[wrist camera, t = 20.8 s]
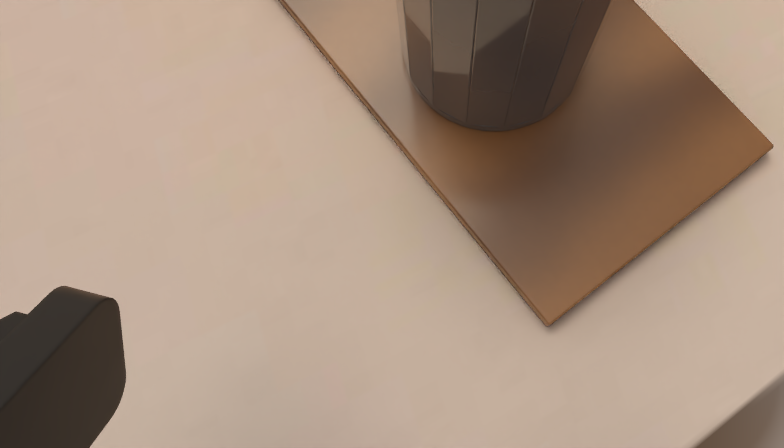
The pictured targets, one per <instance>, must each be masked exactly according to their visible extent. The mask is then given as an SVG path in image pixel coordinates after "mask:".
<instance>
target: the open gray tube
mask: <svg viewBox="0 0 784 448" xmlns="http://www.w3.org/2000/svg"><path fill="white" fill-rule="evenodd" d="M615 1H616V0H396V5H397V14H398V23H399V31H400V40H401V49H402V52H403V55H404V61H405V65H406V70H407V72H408V75H409V78H410V80H411V82H412V84H413V86H414V88H415V90H416V91H417V92H418V94H419V95H420V97H421V98H422V99H423V100H424V101H425V102H426V103H427V104H428V105H429V106H430V107H431V108H432V109H433V110H434V111H436V112H437V113H438V114H439V115H441V116H443V117H444V118H446V119H448V120H449V121H451V122H454V123H456V124H458V125H460V126H464V127H467V128H470V129H475V130H481V131H495V132H497V131H509V130H514V129H519V128H522V127H525V126H528V125H531V124H534V123H536V122H538V121H540V120H542V119H544V118H545V117H547V116H548V115H550V114H551V113H553V112H554V111H555V110H556V109H557V108H558V107H560V106H561V105H562V104H563V103H564V102H565V100H566V99H567V98H568V97H569V96H570V94H571V93H572V91H573V90H574V88H575V87H576V85H577V83H578V81H579V79H580V77H581V75H582V73H583V71H584V70H585V68H586V66H587V64H588V62H589V59H590V57H591V55H592V53H593V50H594V48H595V46H596V44H597V41H598V39H599V37H600V35H601V32H602V30H603V28H604V26H605V23H606V21H607V19H608V17H609V14H610V12H611V10H612V8H613V5H614V3H615Z"/></svg>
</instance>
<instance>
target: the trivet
mask: <svg viewBox="0 0 784 448" xmlns="http://www.w3.org/2000/svg"><path fill="white" fill-rule="evenodd" d="M279 1H280V2H281V3H282V5H283V6H284V7H285V8H286V9H287V11H288V12H289V13H290V14H291V16H292V17H293V18H294V19H295V20H296V22H297V23H298V24H299V25H300V27H301V28H302V29H303V30H304V31H305V33H306V34H307V35H308V36H309V38H310V39H311V40H312V41H313V42H314V44H315V45H316V46H317V47H318V48H319V50H320V51H321V52H322V53H323V55H324V56H325V57H326V58H327V59H328V61H329V62H330V63H331V64H332V66H333V67H334V68H335V69H336V70H337V72H338V73H339V74H340V75H341V77H342V78H343V79H344V80H345V81H346V83H347V84H348V85H349V86H350V88H351V89H352V90H353V91H354V92H355V94H356V95H357V96H358V97H359V99H360V100H361V101H362V102H363V103H364V105H365V106H366V107H367V108H368V109H369V111H370V112H371V113H372V114H373V116H374V117H375V118H376V119H377V120H378V122H379V123H380V124H381V125H382V127H383V128H384V129H385V130H386V131H387V133H388V134H389V135H390V136H391V138H392V139H393V140H394V141H395V142H396V144H397V145H398V146H399V147H400V149H401V150H402V151H403V152H404V153H405V155H406V156H407V157H408V158H409V160H410V161H411V162H412V163H413V164H414V166H415V167H416V168H417V169H418V170H419V172H420V173H421V174H422V175H423V177H424V178H425V179H426V180H427V181H428V183H429V184H430V185H431V186H432V188H433V189H434V190H435V191H436V192H437V194H438V195H439V196H440V197H441V199H442V200H443V201H444V202H445V203H446V205H447V206H448V207H449V208H450V210H451V211H452V212H453V213H454V214H455V216H456V217H457V218H458V219H459V221H460V222H461V223H462V224H463V225H464V227H465V228H466V229H467V230H468V231H469V233H470V234H471V235H472V236H473V238H474V239H475V240H476V241H477V242H478V244H479V245H480V246H481V247H482V249H483V250H484V251H485V252H486V253H487V255H488V256H489V257H490V258H491V260H492V261H493V262H494V263H495V264H496V266H497V267H498V268H499V269H500V271H501V272H502V273H503V274H504V275H505V277H506V278H507V279H508V280H509V282H510V283H511V284H512V285H513V286H514V288H515V289H516V290H517V291H518V292H519V294H520V295H521V296H522V297H523V299H524V300H525V301H526V302H527V303H528V305H529V306H530V307H531V308H532V310H533V311H534V312H535V313H536V314H537V316H538V317H539V318H540V319H541V321H542V322H543V323H544V324H545V325H546V326H549V325H551V324H552V323H553V322H555V321H556V320H557V319H558V318H560V317H561V316H562V315H563V314H565V313H566V312H567V311H568V310H570V309H571V308H572V307H573V306H575V305H576V304H577V303H578V302H580V301H581V300H582V299H584V298H585V297H586V296H587V295H589V294H590V293H591V292H592V291H594V290H595V289H596V288H597V287H599V286H600V285H601V284H602V283H604V282H605V281H606V280H607V279H609V278H610V277H611V276H612V275H614V274H615V273H616V272H617V271H619V270H620V269H621V268H622V267H624V266H625V265H626V264H627V263H629V262H630V261H631V260H633V259H634V258H635V257H636V256H638V255H639V254H640V253H641V252H643V251H644V250H645V249H646V248H648V247H649V246H650V245H651V244H653V243H654V242H655V241H656V240H658V239H659V238H660V237H661V236H663V235H664V234H665V233H666V232H668V231H669V230H670V229H671V228H673V227H674V226H675V225H677V224H678V223H679V222H680V221H682V220H683V219H684V218H685V217H687V216H688V215H689V214H690V213H692V212H693V211H694V210H695V209H697V208H698V207H699V206H700V205H702V204H703V203H704V202H705V201H707V200H708V199H709V198H710V197H712V196H713V195H714V194H715V193H717V192H718V191H719V190H721V189H722V188H723V187H724V186H726V185H727V184H728V183H729V182H731V181H732V180H733V179H734V178H736V177H737V176H738V175H739V174H741V173H742V172H743V171H744V170H746V169H747V168H748V167H749V166H751V165H752V164H753V163H754V162H756V161H757V160H758V159H759V158H761V157H762V156H763V155H765V154H766V153H767V152H768V151H770V150H771V149H772V148H773V144H772V143H771V142H770V141H769V140H768V139H767V138H766V137H765V136H764V135H763V134H762V133H761V132H760V131H759V130H758V129H757V128H756V127H755V126H754V125H753V123H752V122H751V121H750V120H749V119H748V118H747V117H746V116H745V115H744V114H743V113H742V112H741V111H740V110H739V109H738V108H737V107H736V106H735V105H734V104H733V103H732V102H731V101H730V100H729V99H728V98H727V97H726V96H725V95H724V94H723V92H722V91H721V90H720V89H719V88H718V87H717V86H716V85H715V84H714V83H713V82H712V81H711V80H710V79H709V78H708V77H707V76H706V75H705V74H704V73H703V72H702V71H701V70H700V69H699V68H698V67H697V66H696V65H695V64H694V63H693V61H692V60H691V59H690V58H689V57H688V56H687V55H686V54H685V53H684V52H683V51H682V50H681V49H680V48H679V47H678V46H677V45H676V44H675V43H674V42H673V41H672V40H671V39H670V38H669V37H668V36H667V35H666V34H665V33H664V32H663V30H662V29H661V28H660V27H659V26H658V25H657V24H656V23H655V22H654V21H653V20H652V19H651V18H650V17H649V16H648V15H647V14H646V13H645V12H644V11H643V10H642V9H641V8H640V7H639V6H638V5H637V4H636V3H635V2H634V0H616V1H615V3H614V5H613V8H612V10H611V12H610V14H609V17H608V19H607V21H606V23H605V26H604V28H603V30H602V32H601V35H600V37H599V39H598V41H597V44H596V46H595V48H594V50H593V53H592V55H591V57H590V59H589V62H588V64H587V66H586V68H585V70H584V71H583V73H582V75H581V77H580V79H579V81H578V83H577V85H576V87H575V88H574V90H573V91H572V93H571V94H570V96H569V97H568V98H567V99H566V100H565V102H564V103H563V104H562V105H561V106H560V107H558V108H557V109H556V110H555V111H554V112H553V113H551V114H550V115H548V116H547V117H545V118H544V119H542V120H540V121H538V122H536V123H534V124H531V125H528V126H525V127H522V128H519V129H514V130H509V131H497V132H495V131H481V130H475V129H470V128H467V127H464V126H460V125H458V124H456V123H454V122H451V121H449V120H448V119H446V118H444V117H443V116H441V115H439V114H438V113H437V112H436V111H434V110H433V109H432V108H431V107H430V106H429V105H428V104H427V103H426V102H425V101H424V100H423V99H422V98H421V97H420V95H419V94H418V92H417V91H416V90H415V88H414V86H413V84H412V82H411V80H410V78H409V75H408V72H407V70H406V65H405V61H404V55H403V52H402V49H401V40H400V31H399V23H398V14H397V5H396V0H279Z"/></svg>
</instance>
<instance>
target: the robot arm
mask: <svg viewBox="0 0 784 448" xmlns="http://www.w3.org/2000/svg"><path fill="white" fill-rule="evenodd" d="M125 382H126V369H125V359H124V350H123V340H122V330H121V320H120V311H119V306H118V303H117V302H116V300H115V299H113V298H109V297H106V296H102V295H98V294H94V293H90V292H86V291H83V290H79V289H75V288H71V287H67V286H61V287H58V288H56V289H54V290H53V291H52V292H51V293H49V294H48V295H47V296H46V297H45V298H44V299H43V300H42V301H41V302H40V303H39V304H38V305H37V306H36V307H35V308H34V309H33V310H32V311H31V312H30V313H29V314H28V315H27V314H23V313H20V312H14V313H12V314H10V315H8V316H6V317H4V318H2V319H0V448H89V447H90V446H91V445H92V443H93V442H94V441H95V439H96V438H97V437H98V435H99V434H100V432H101V431H102V430H103V428H104V427H105V426H106V424H107V423H108V422H109V420H110V419H111V418H112V416H113V415H114V413H115V411H116V409H117V407H118V405H119V403H120V400H121V398H122V395H123V392H124V387H125Z"/></svg>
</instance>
